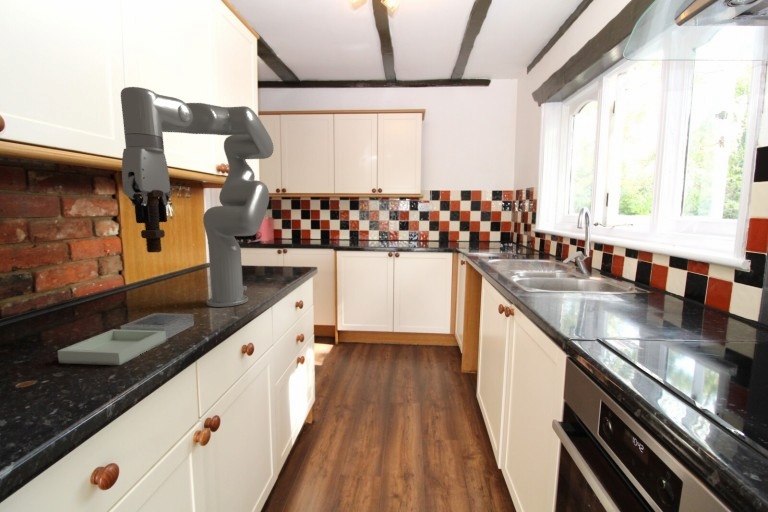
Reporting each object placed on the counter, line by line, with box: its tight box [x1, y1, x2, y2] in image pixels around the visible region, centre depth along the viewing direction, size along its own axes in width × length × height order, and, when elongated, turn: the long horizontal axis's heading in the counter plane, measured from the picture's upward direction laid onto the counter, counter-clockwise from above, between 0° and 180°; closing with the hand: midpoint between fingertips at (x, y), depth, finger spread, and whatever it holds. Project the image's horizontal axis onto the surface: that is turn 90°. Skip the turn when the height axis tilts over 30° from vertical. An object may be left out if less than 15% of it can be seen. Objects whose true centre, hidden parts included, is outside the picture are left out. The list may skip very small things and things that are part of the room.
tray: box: [57, 328, 167, 366], centre depth 76 cm, size 13×13×2 cm
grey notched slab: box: [120, 312, 195, 340], centre depth 89 cm, size 11×11×3 cm
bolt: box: [138, 190, 166, 253], centre depth 86 cm, size 6×5×15 cm
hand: (152, 221), depth 86 cm, fingers closed on bolt, 4 cm apart
